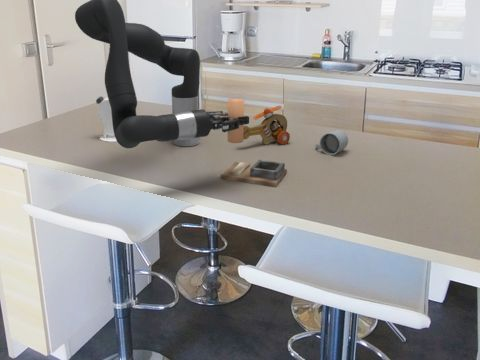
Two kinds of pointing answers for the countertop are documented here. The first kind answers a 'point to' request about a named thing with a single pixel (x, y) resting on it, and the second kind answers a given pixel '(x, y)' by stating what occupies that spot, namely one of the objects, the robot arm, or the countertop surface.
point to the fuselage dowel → (236, 111)
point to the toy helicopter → (269, 127)
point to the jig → (256, 172)
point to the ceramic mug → (333, 142)
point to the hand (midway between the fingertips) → (243, 117)
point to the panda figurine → (106, 119)
